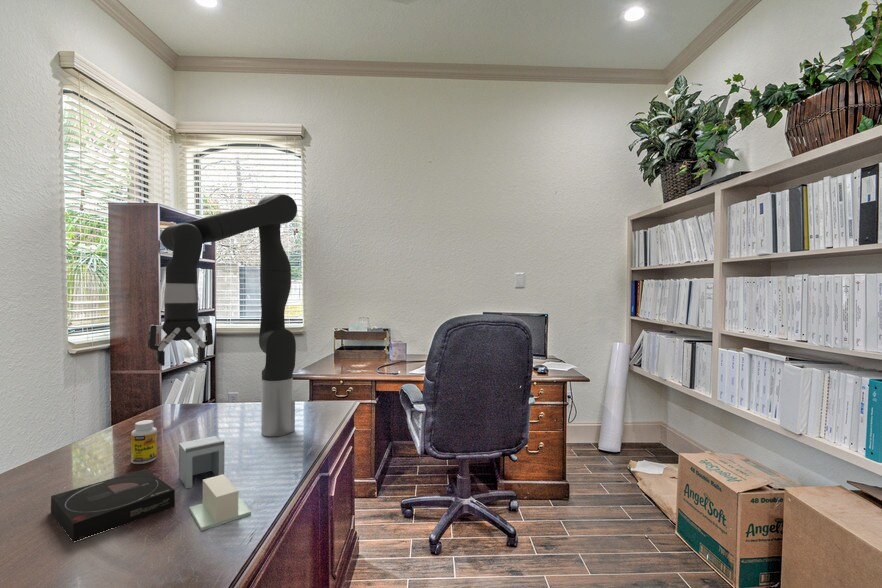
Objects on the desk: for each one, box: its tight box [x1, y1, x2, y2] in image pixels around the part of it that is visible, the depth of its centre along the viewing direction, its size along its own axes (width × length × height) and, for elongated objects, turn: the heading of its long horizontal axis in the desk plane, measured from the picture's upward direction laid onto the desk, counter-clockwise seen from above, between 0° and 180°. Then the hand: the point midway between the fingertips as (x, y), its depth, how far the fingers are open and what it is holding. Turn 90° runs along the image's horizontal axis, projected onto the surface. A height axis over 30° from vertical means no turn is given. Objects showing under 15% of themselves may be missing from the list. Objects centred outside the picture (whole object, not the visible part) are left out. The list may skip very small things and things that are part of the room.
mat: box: [189, 495, 252, 532], centre depth 87 cm, size 9×10×1 cm
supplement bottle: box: [130, 419, 158, 465], centre depth 112 cm, size 6×6×10 cm
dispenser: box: [178, 435, 226, 489], centre depth 103 cm, size 8×8×9 cm
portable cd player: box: [50, 468, 176, 543], centre depth 88 cm, size 16×17×4 cm
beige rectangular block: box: [202, 473, 240, 523], centre depth 87 cm, size 4×10×5 cm, turn 43°
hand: (181, 363), depth 111 cm, fingers open, 8 cm apart
